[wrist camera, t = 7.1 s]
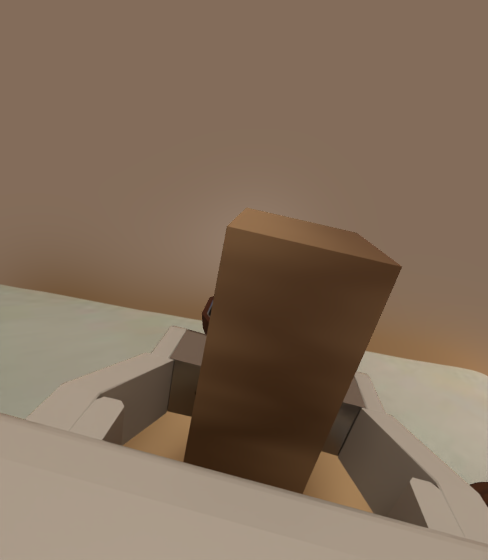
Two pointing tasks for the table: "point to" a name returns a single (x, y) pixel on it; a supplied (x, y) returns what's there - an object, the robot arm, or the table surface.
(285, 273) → the oak lid
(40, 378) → the table surface
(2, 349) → the table surface
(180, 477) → the robot arm
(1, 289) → the table surface
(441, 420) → the table surface
